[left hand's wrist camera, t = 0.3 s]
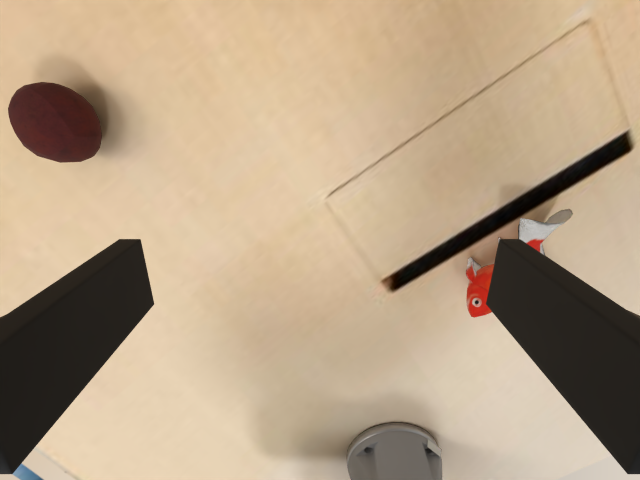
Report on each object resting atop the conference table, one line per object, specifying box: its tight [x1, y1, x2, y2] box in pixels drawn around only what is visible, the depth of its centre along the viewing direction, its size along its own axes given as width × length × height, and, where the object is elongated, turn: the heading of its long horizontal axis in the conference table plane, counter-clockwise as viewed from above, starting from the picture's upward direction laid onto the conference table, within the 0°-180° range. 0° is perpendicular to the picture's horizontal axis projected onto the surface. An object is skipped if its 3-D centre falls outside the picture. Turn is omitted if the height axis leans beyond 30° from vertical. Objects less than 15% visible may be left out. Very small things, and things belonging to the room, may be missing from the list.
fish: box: [466, 209, 573, 317], centre depth 39 cm, size 11×16×10 cm
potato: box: [8, 82, 102, 162], centre depth 34 cm, size 7×8×7 cm
